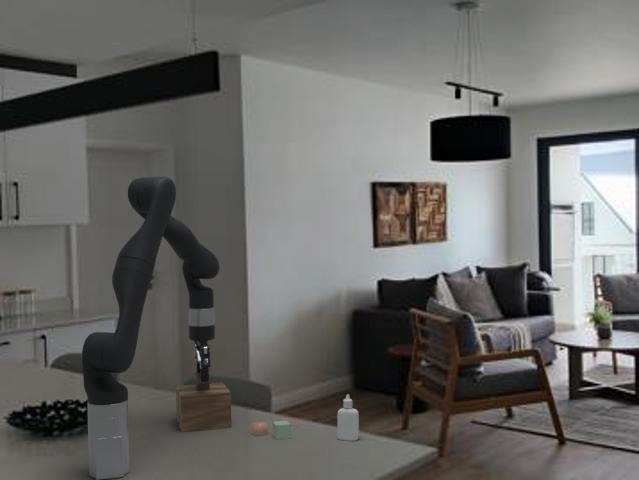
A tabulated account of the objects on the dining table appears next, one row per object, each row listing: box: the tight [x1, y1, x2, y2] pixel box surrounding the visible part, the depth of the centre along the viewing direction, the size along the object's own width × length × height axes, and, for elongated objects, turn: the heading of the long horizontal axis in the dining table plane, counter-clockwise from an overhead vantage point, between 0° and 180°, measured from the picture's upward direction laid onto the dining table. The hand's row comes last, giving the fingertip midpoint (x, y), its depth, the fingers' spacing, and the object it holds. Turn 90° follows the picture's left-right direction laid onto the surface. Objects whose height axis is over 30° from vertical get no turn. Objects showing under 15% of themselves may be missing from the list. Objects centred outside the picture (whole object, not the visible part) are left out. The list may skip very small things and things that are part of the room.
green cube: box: [272, 419, 292, 440], centre depth 199 cm, size 4×4×4 cm
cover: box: [175, 372, 232, 433], centre depth 213 cm, size 14×14×14 cm
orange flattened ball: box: [251, 420, 269, 437], centre depth 202 cm, size 4×4×3 cm
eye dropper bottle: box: [336, 394, 360, 442], centre depth 197 cm, size 4×6×12 cm
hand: (202, 378), depth 213 cm, fingers open, 8 cm apart
